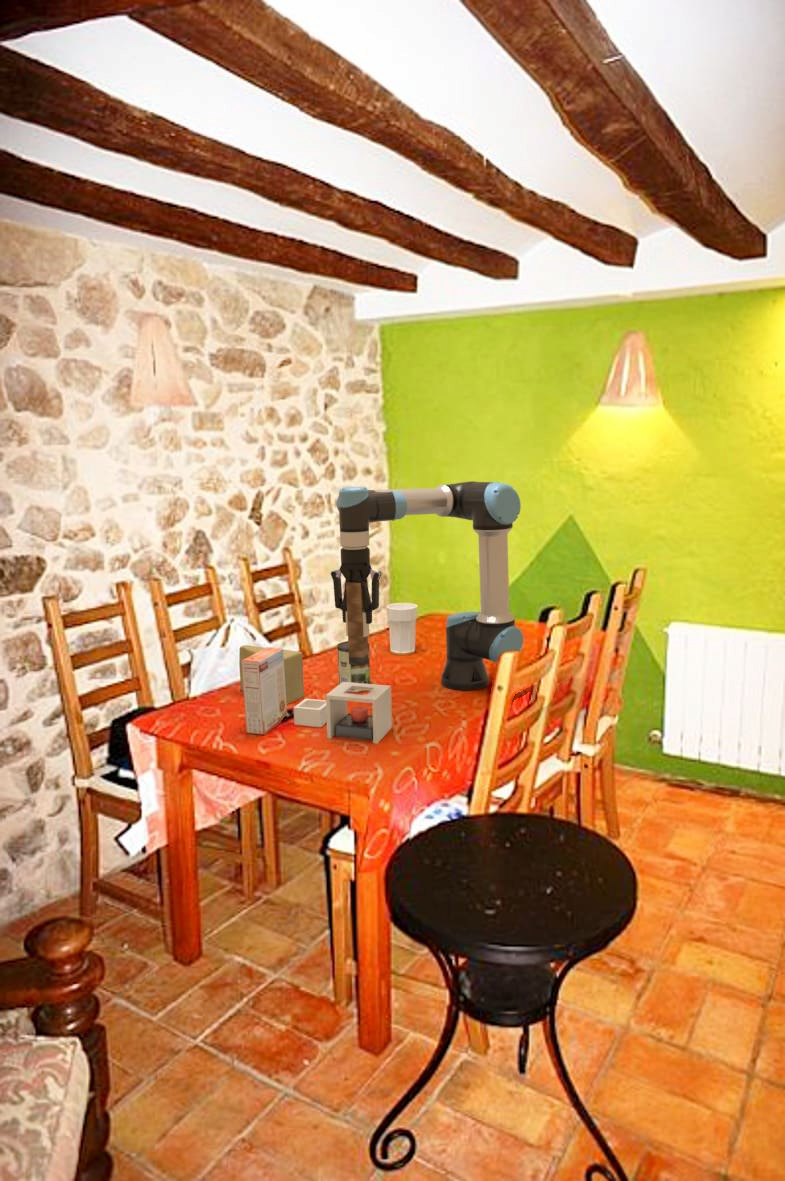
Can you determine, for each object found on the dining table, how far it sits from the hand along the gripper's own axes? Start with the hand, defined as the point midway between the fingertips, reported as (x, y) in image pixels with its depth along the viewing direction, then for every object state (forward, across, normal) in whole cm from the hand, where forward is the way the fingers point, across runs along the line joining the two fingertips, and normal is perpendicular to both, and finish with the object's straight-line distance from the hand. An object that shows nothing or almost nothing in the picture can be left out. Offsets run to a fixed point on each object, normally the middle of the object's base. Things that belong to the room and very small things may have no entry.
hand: (357, 634), depth 212 cm
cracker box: (+27, +27, +2) cm, 39 cm away
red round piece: (+27, 0, 0) cm, 27 cm away
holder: (+27, +16, -5) cm, 32 cm away
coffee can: (+28, +16, -37) cm, 49 cm away
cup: (+28, +14, -81) cm, 87 cm away
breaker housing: (+27, 0, 0) cm, 27 cm away
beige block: (+28, +39, -22) cm, 53 cm away
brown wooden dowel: (+8, 0, 0) cm, 8 cm away
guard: (+27, 0, 0) cm, 27 cm away
